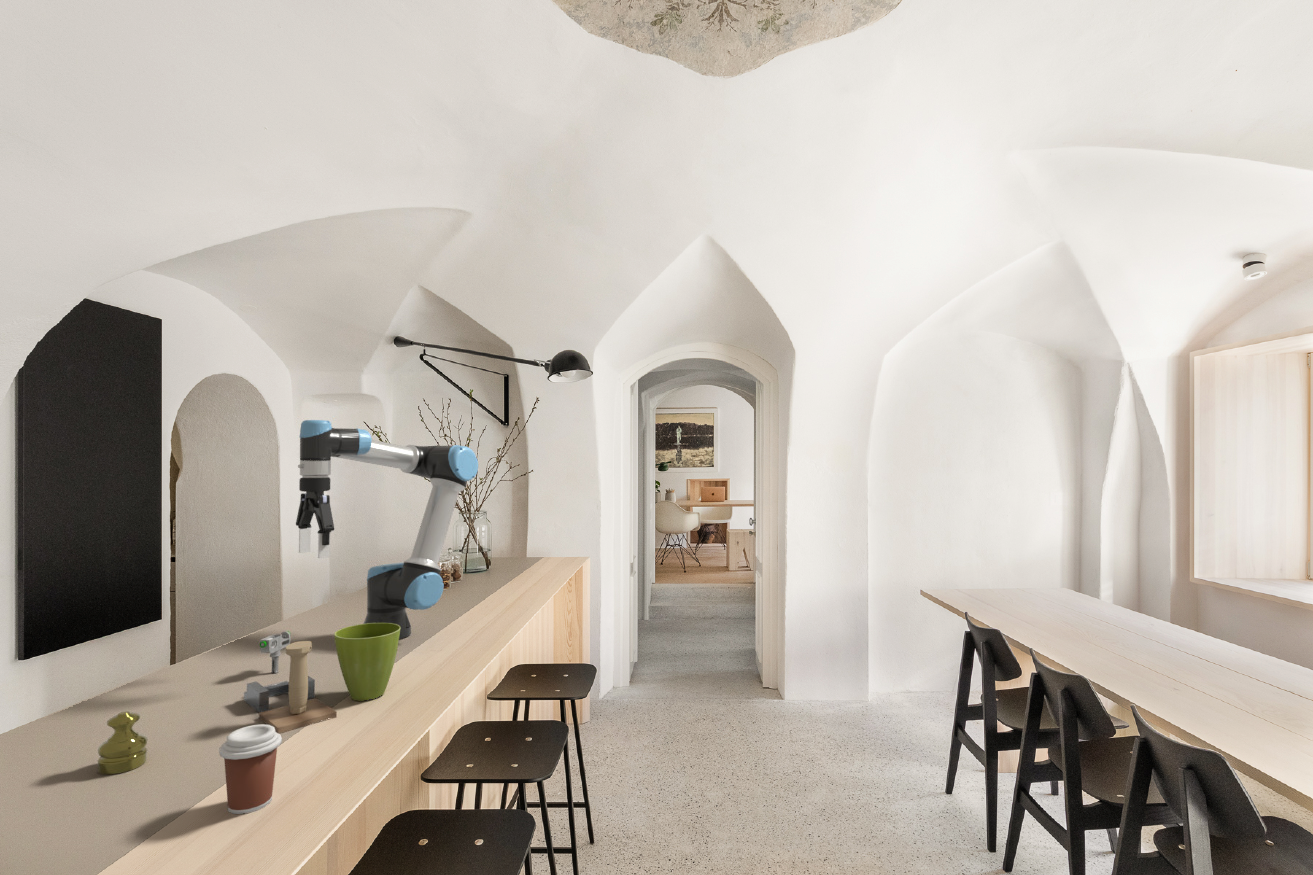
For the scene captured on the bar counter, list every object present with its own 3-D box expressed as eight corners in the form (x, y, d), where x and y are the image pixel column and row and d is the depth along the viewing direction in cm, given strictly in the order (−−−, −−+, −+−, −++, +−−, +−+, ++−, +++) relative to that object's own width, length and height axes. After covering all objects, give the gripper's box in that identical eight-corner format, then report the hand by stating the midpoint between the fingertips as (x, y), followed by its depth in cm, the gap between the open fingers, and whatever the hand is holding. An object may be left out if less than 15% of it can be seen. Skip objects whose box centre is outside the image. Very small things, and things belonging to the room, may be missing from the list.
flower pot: (319, 700, 159) (320, 633, 159) (371, 681, 172) (372, 619, 173) (361, 711, 152) (362, 641, 152) (412, 691, 165) (413, 626, 166)
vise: (294, 685, 169) (294, 667, 169) (314, 698, 160) (314, 679, 160) (241, 698, 160) (241, 679, 160) (259, 712, 151) (259, 692, 151)
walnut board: (315, 703, 157) (315, 698, 157) (336, 717, 149) (336, 711, 149) (259, 718, 148) (259, 712, 148) (278, 733, 140) (278, 727, 140)
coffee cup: (291, 789, 117) (292, 721, 117) (262, 818, 108) (263, 743, 108) (238, 790, 117) (239, 721, 117) (205, 818, 107) (206, 744, 108)
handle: (280, 718, 145) (281, 649, 145) (292, 707, 151) (293, 641, 152) (304, 717, 146) (304, 648, 146) (314, 706, 152) (315, 640, 152)
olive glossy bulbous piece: (141, 753, 131) (142, 702, 131) (152, 764, 126) (153, 711, 126) (92, 767, 125) (94, 713, 125) (102, 779, 120) (103, 724, 121)
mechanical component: (292, 666, 184) (292, 630, 184) (267, 679, 173) (267, 640, 174) (282, 666, 184) (282, 630, 184) (256, 678, 174) (257, 640, 174)
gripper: (283, 475, 186) (282, 551, 185) (318, 478, 169) (317, 561, 169) (312, 475, 191) (311, 548, 191) (348, 477, 175) (347, 558, 174)
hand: (314, 554), depth 180 cm, fingers open, 13 cm apart
